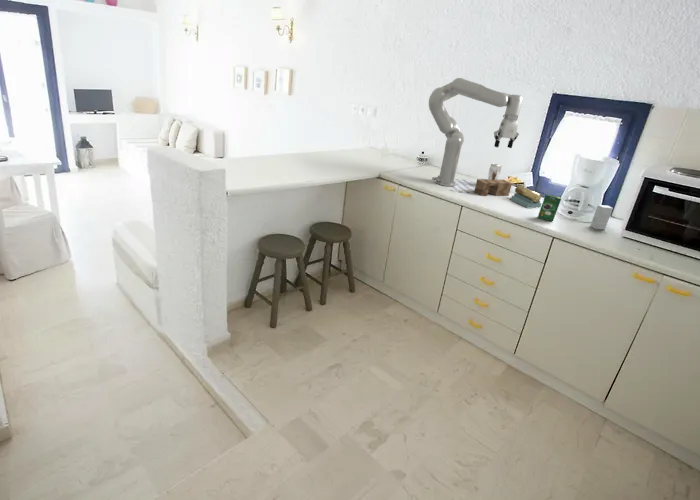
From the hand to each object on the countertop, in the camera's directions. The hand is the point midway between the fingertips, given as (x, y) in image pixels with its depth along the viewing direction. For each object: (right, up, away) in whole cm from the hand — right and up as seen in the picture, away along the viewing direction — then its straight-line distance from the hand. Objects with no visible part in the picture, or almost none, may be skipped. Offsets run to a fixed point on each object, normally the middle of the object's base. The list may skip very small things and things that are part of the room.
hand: (502, 147), depth 245 cm
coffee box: (+13, -45, -25) cm, 53 cm away
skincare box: (+39, -50, -28) cm, 69 cm away
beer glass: (+1, -21, +24) cm, 32 cm away
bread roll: (+13, -30, -3) cm, 33 cm away
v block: (+13, -34, -2) cm, 36 cm away
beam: (-4, -26, +10) cm, 28 cm away
